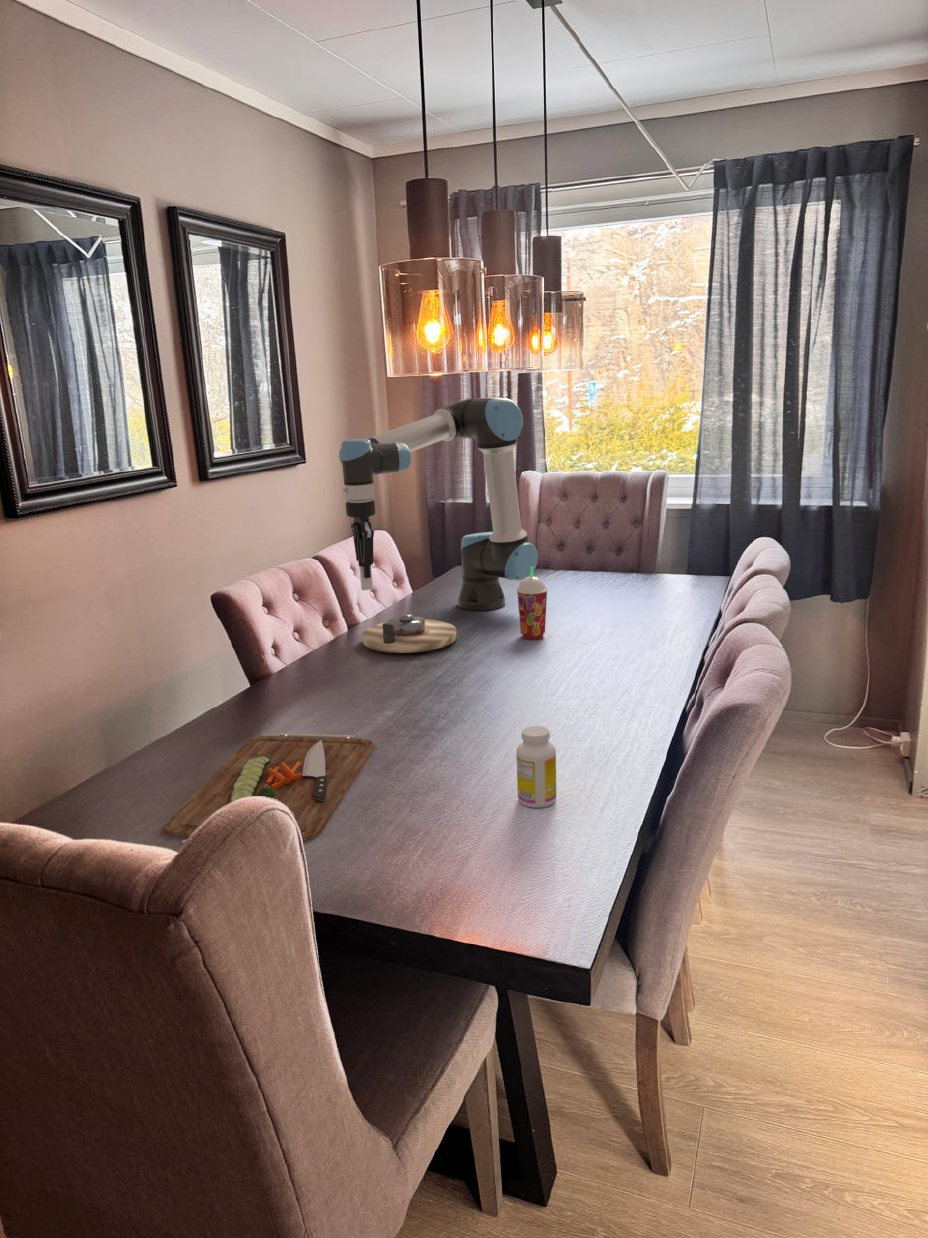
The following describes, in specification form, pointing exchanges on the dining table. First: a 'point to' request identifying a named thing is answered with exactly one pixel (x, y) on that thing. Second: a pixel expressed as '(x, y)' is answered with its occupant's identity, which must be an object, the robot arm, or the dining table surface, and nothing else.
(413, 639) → the turntable
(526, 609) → the smoothie
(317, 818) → the chopping board
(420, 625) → the cover
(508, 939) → the dining table surface
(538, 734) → the supplement bottle
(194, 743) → the dining table surface
